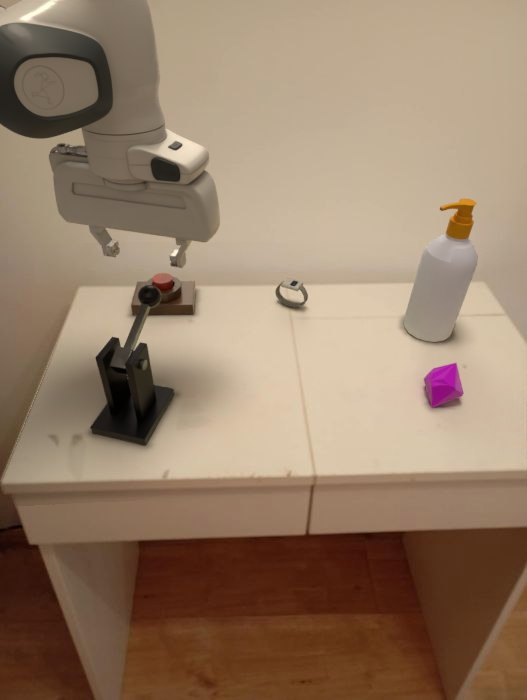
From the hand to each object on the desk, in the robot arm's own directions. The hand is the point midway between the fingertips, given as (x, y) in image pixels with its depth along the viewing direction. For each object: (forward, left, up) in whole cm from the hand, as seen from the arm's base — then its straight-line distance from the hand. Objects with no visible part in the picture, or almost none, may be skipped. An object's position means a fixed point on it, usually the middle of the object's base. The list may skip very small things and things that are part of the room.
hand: (145, 260), depth 62 cm
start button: (-7, +18, -16) cm, 25 cm away
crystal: (+43, +7, -20) cm, 48 cm away
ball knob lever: (0, -4, -9) cm, 10 cm away
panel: (-7, +18, -20) cm, 28 cm away
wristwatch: (+16, +24, -20) cm, 35 cm away
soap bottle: (+41, +24, -20) cm, 51 cm away
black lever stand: (0, -9, -20) cm, 22 cm away
